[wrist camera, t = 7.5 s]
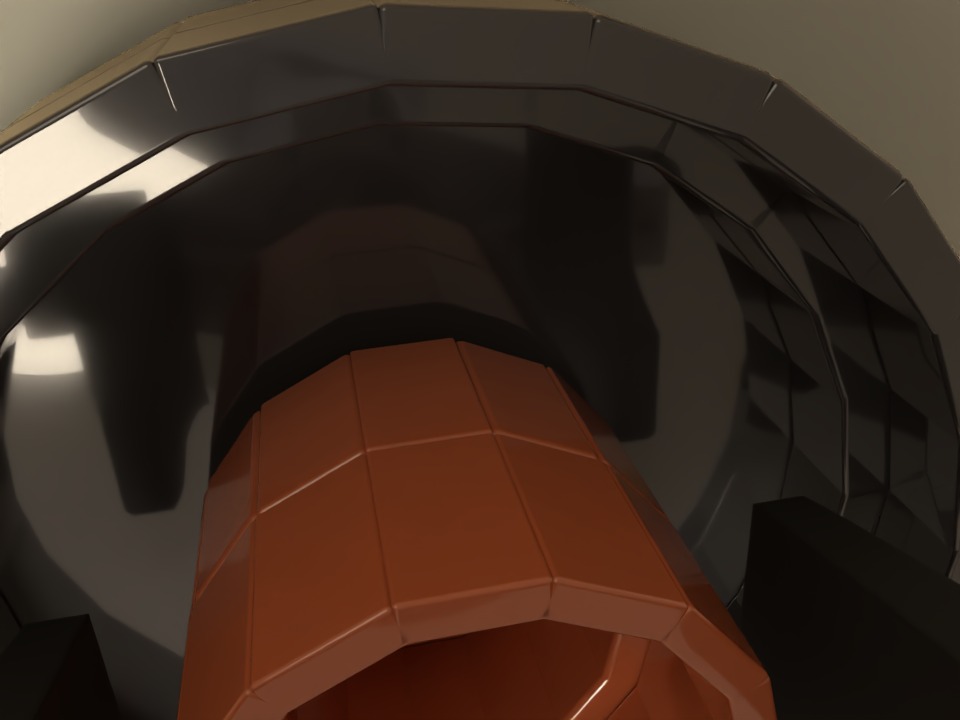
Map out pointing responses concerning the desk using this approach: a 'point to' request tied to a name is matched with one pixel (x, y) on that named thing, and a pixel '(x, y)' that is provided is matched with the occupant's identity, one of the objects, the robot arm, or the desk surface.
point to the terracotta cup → (449, 559)
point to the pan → (450, 282)
